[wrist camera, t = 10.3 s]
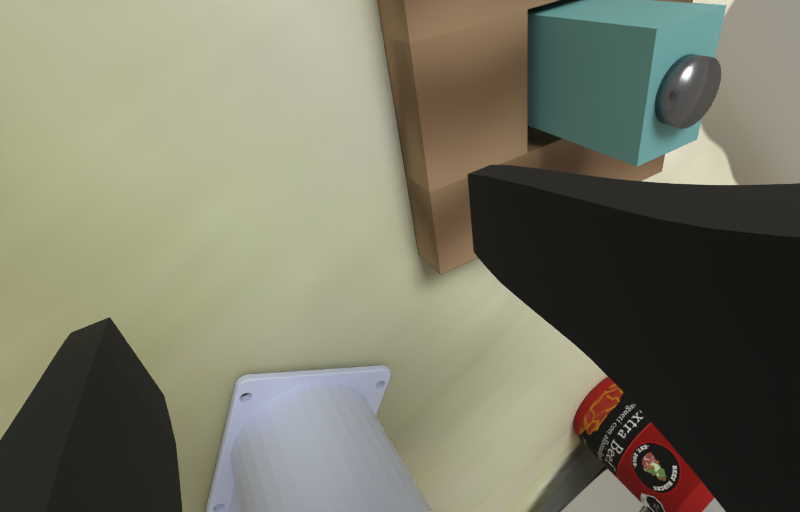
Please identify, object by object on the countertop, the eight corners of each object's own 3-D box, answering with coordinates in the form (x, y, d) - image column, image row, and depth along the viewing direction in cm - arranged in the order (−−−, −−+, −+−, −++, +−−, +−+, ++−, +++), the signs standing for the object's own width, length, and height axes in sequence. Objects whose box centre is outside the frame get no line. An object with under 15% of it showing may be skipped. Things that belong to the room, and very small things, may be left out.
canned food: (608, 361, 38) (750, 474, 29) (652, 372, 42) (785, 471, 34) (555, 436, 39) (675, 563, 31) (602, 438, 44) (718, 548, 36)
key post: (558, 98, 23) (712, 143, 17) (507, 117, 22) (652, 172, 16) (562, -6, 20) (745, 6, 14) (505, 11, 19) (675, 30, 13)
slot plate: (630, 159, 27) (661, 171, 26) (418, 254, 23) (440, 274, 21) (675, -163, 19) (724, -173, 18) (359, -108, 15) (388, -116, 13)
